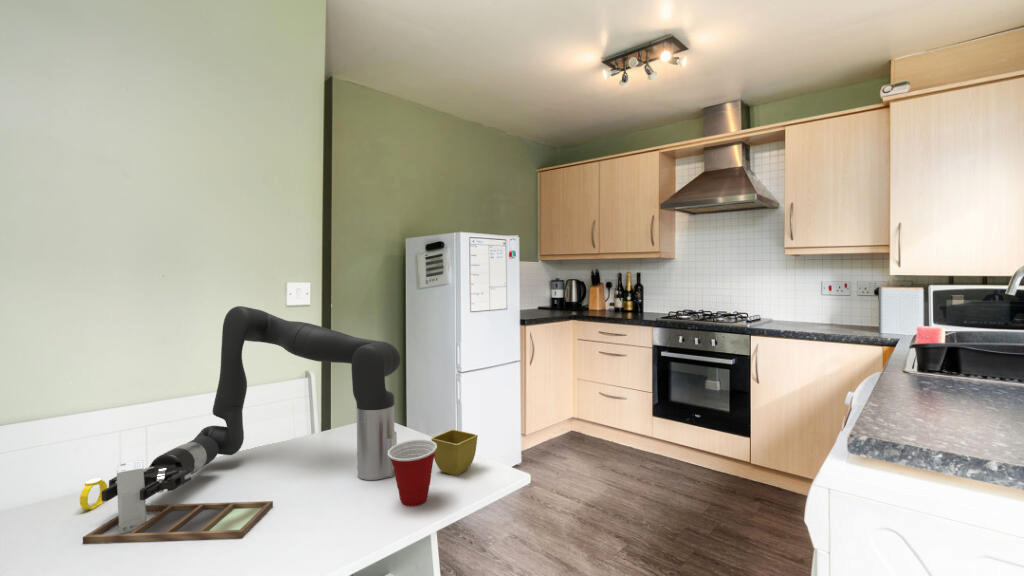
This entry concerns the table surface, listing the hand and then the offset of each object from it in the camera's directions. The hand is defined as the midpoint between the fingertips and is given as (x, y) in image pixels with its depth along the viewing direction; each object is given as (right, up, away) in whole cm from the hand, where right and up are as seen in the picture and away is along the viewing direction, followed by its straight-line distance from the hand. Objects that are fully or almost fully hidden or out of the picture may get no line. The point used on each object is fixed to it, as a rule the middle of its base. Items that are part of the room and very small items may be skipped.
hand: (122, 495), depth 91 cm
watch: (-15, -7, +11) cm, 20 cm away
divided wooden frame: (+10, -7, +3) cm, 13 cm away
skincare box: (0, -7, +2) cm, 8 cm away
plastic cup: (+55, -6, +12) cm, 56 cm away
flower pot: (+62, -6, +28) cm, 68 cm away
